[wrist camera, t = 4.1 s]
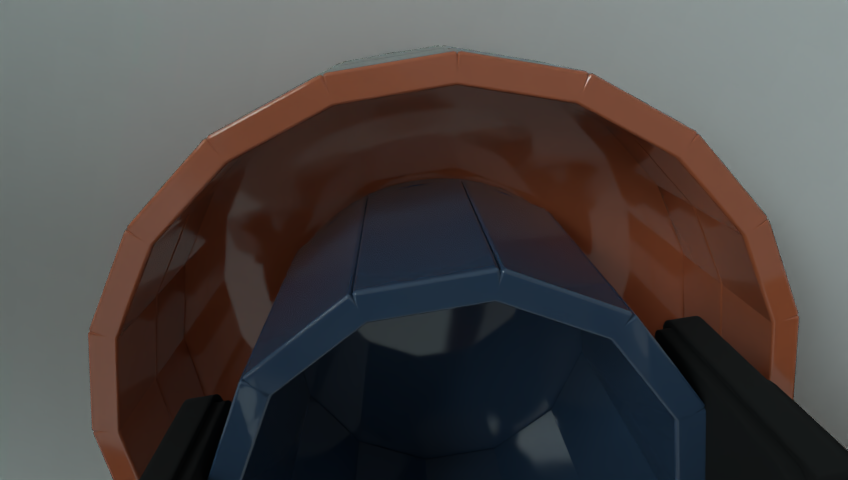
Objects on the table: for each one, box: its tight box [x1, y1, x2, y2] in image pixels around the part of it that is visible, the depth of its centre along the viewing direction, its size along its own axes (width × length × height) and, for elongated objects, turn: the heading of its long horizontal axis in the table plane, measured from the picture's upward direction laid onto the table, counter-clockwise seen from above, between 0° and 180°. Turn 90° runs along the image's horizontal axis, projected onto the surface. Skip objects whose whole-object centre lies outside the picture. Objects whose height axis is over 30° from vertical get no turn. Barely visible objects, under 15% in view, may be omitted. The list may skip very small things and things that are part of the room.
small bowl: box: [207, 178, 706, 480], centre depth 12 cm, size 8×8×6 cm
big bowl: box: [88, 46, 799, 480], centre depth 13 cm, size 13×13×4 cm
